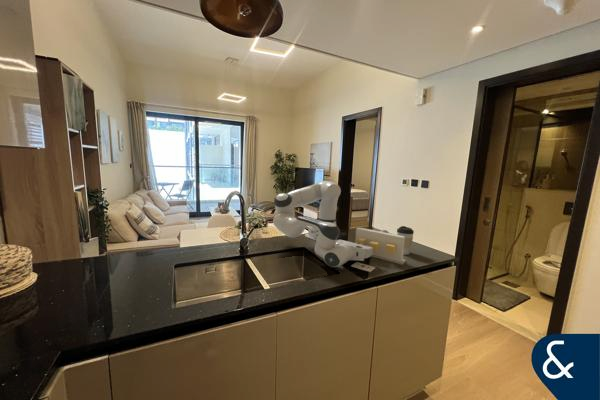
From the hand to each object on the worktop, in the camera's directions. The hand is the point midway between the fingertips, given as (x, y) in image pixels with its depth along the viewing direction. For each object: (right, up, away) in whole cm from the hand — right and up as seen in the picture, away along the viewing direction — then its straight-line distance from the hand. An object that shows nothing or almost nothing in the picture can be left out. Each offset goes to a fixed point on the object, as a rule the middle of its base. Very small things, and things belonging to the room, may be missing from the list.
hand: (359, 244), depth 135 cm
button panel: (+10, -7, +2) cm, 13 cm away
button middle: (+8, -2, -2) cm, 9 cm away
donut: (+20, -5, +21) cm, 29 cm away
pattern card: (-1, -9, -13) cm, 16 cm away
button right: (+16, -3, -6) cm, 17 cm away
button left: (+2, -1, +3) cm, 4 cm away
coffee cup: (+28, -7, +9) cm, 30 cm away
